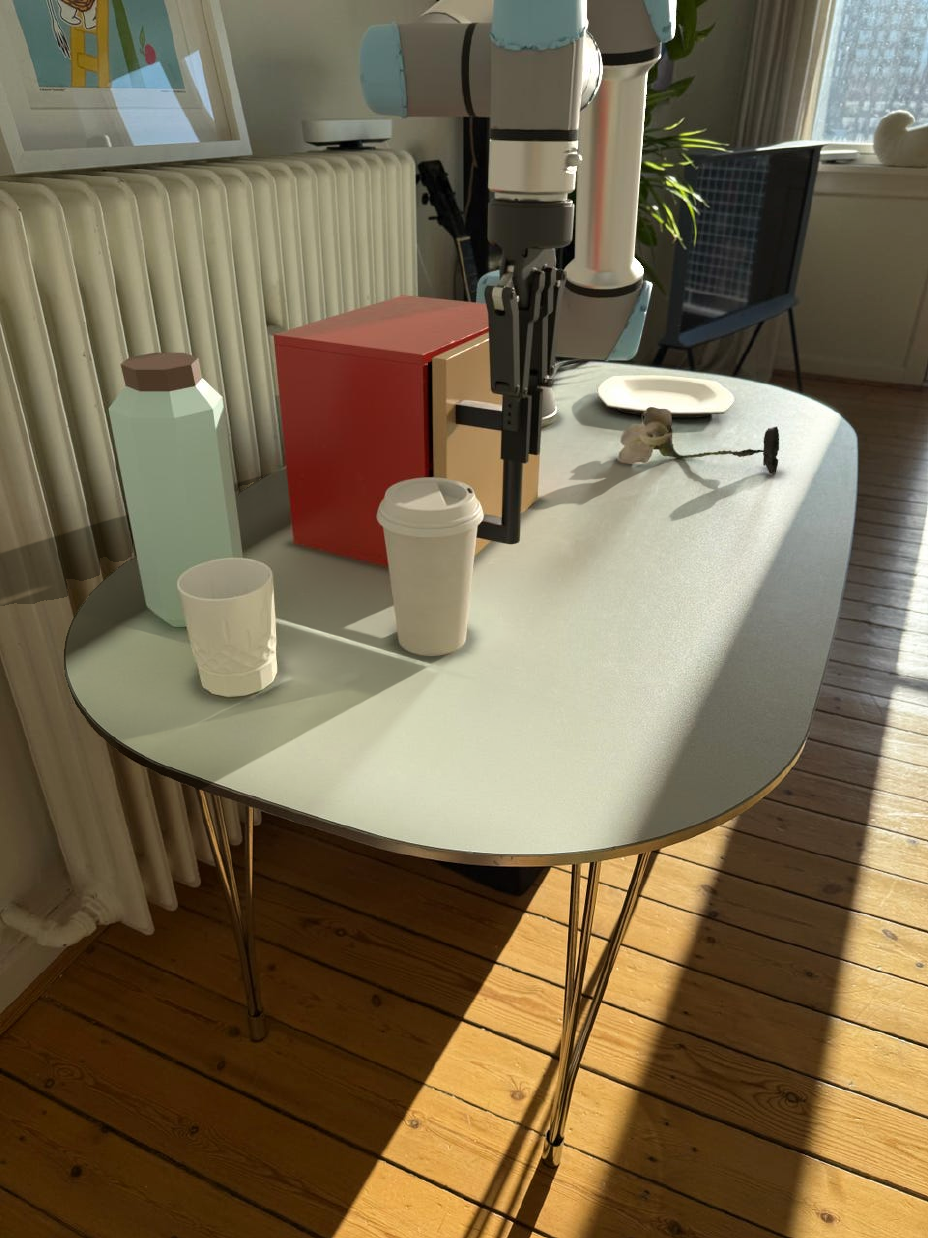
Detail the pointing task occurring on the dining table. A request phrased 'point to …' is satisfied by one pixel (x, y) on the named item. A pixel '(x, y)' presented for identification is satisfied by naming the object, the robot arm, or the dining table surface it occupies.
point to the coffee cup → (430, 560)
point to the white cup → (231, 624)
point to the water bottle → (174, 473)
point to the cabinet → (362, 413)
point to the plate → (665, 395)
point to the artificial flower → (659, 436)
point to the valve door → (478, 442)
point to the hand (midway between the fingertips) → (520, 455)
